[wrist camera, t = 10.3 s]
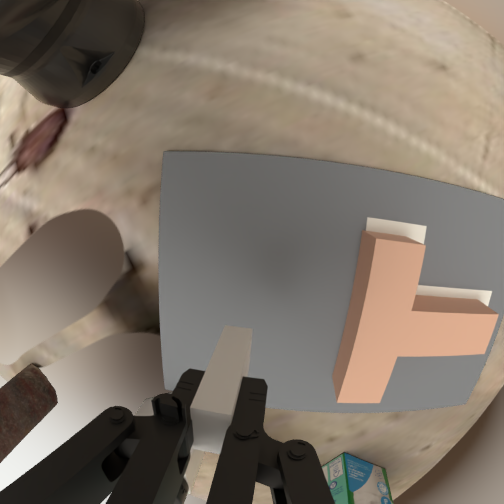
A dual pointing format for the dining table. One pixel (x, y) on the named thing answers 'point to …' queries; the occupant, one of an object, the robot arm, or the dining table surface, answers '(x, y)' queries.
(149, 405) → the jar
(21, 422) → the candle
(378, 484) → the milk carton
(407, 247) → the t block
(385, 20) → the dining table surface
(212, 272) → the mat
